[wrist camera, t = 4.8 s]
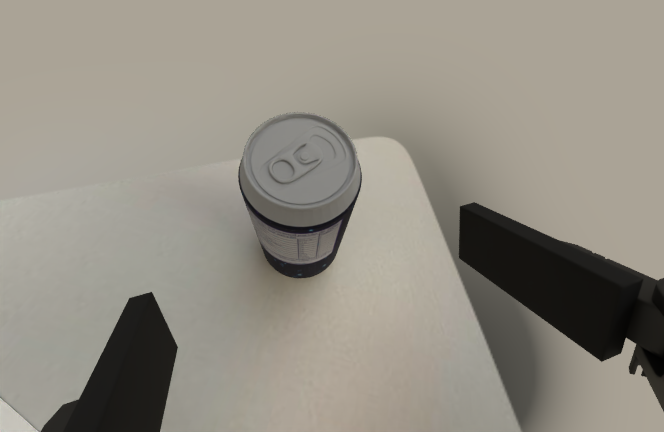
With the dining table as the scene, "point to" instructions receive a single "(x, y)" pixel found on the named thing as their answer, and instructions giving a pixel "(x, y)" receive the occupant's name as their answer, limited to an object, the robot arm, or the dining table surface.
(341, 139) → the beverage can
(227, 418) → the dining table surface
